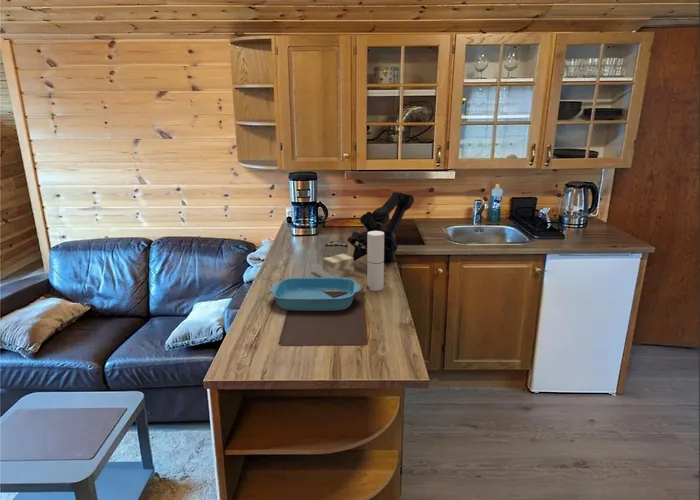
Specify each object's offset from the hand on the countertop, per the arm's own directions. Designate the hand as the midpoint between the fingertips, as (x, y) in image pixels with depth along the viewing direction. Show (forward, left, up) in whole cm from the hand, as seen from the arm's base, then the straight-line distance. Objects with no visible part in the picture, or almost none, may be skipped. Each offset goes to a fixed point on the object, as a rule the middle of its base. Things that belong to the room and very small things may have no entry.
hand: (352, 260), depth 222 cm
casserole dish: (+31, +17, -7) cm, 36 cm away
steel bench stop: (+16, 0, -5) cm, 16 cm away
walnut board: (+3, 0, -6) cm, 7 cm away
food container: (-5, -20, -7) cm, 21 cm away
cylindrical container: (+2, +20, -7) cm, 21 cm away
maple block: (+8, 0, -5) cm, 10 cm away
